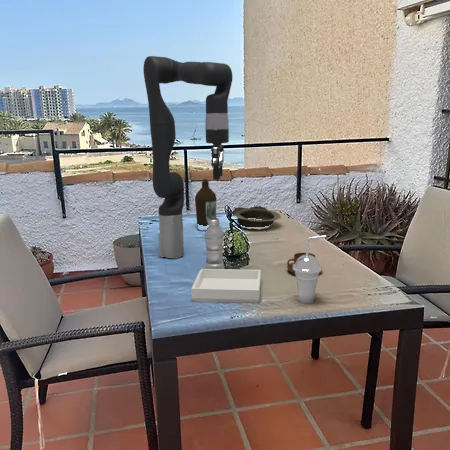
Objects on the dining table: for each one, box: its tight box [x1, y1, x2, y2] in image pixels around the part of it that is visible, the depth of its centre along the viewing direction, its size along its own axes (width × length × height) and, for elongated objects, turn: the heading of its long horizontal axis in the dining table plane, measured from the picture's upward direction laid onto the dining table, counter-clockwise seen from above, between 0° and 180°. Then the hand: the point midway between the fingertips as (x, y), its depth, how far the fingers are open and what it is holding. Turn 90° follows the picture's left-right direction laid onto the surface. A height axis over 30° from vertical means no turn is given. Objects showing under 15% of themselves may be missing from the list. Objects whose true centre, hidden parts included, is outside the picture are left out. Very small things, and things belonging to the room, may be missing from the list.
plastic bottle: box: [204, 217, 225, 269], centre depth 147 cm, size 6×7×20 cm
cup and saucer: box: [286, 252, 316, 275], centre depth 151 cm, size 12×12×6 cm
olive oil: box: [194, 178, 217, 226], centre depth 214 cm, size 11×11×25 cm
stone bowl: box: [231, 205, 282, 227], centre depth 218 cm, size 25×25×9 cm
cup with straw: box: [292, 235, 327, 304], centre depth 125 cm, size 8×9×20 cm
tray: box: [190, 268, 262, 304], centre depth 135 cm, size 20×18×4 cm
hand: (217, 177), depth 143 cm, fingers open, 8 cm apart
